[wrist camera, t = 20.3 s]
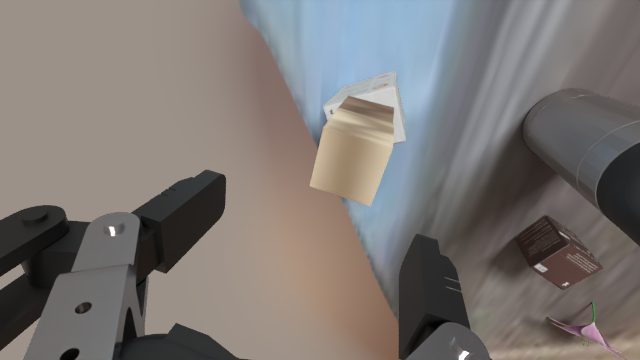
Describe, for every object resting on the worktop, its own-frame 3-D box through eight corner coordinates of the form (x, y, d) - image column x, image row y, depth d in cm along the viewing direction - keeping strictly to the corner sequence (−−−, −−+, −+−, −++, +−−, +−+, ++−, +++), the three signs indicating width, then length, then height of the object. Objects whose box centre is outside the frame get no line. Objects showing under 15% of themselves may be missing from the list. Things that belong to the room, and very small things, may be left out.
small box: (352, 126, 45) (337, 157, 34) (341, 86, 43) (320, 105, 32) (405, 113, 42) (407, 142, 31) (396, 69, 40) (394, 83, 29)
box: (576, 235, 44) (605, 268, 38) (541, 257, 47) (563, 291, 41) (545, 213, 44) (570, 243, 38) (512, 237, 47) (530, 268, 41)
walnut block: (394, 107, 30) (393, 123, 25) (380, 150, 32) (376, 173, 27) (348, 95, 30) (337, 108, 25) (337, 138, 33) (326, 158, 28)
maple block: (394, 123, 25) (392, 148, 20) (376, 173, 27) (370, 206, 22) (339, 107, 25) (323, 127, 20) (326, 157, 28) (309, 186, 23)
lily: (534, 288, 52) (538, 342, 47) (618, 292, 43) (633, 357, 39) (557, 309, 56) (562, 360, 52) (636, 316, 48) (651, 377, 44)
